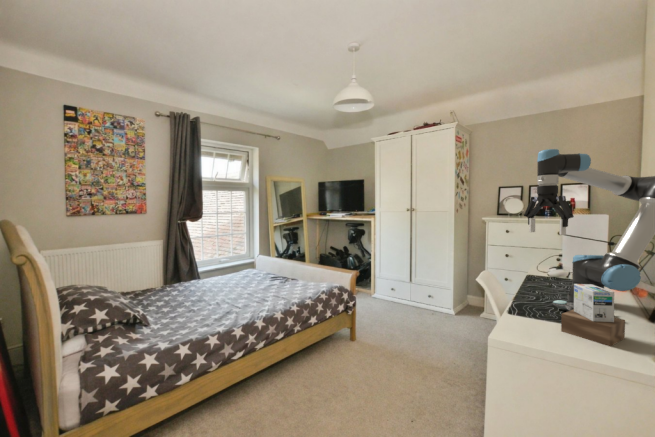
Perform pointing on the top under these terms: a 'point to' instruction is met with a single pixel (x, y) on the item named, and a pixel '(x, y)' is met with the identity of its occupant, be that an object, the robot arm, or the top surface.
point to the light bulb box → (594, 302)
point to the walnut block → (593, 328)
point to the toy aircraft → (563, 305)
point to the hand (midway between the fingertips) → (546, 233)
